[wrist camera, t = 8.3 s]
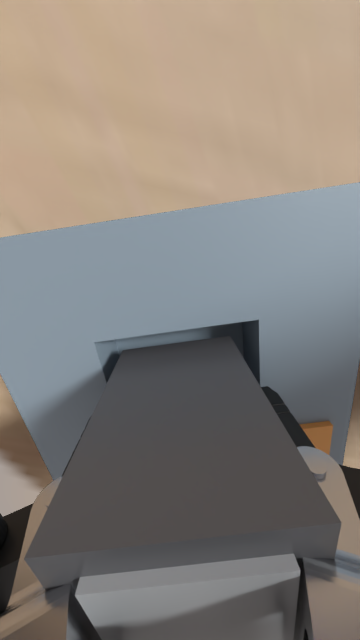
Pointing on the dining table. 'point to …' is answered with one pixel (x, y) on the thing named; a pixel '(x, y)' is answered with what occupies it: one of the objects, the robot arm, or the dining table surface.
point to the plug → (185, 504)
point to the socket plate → (187, 307)
